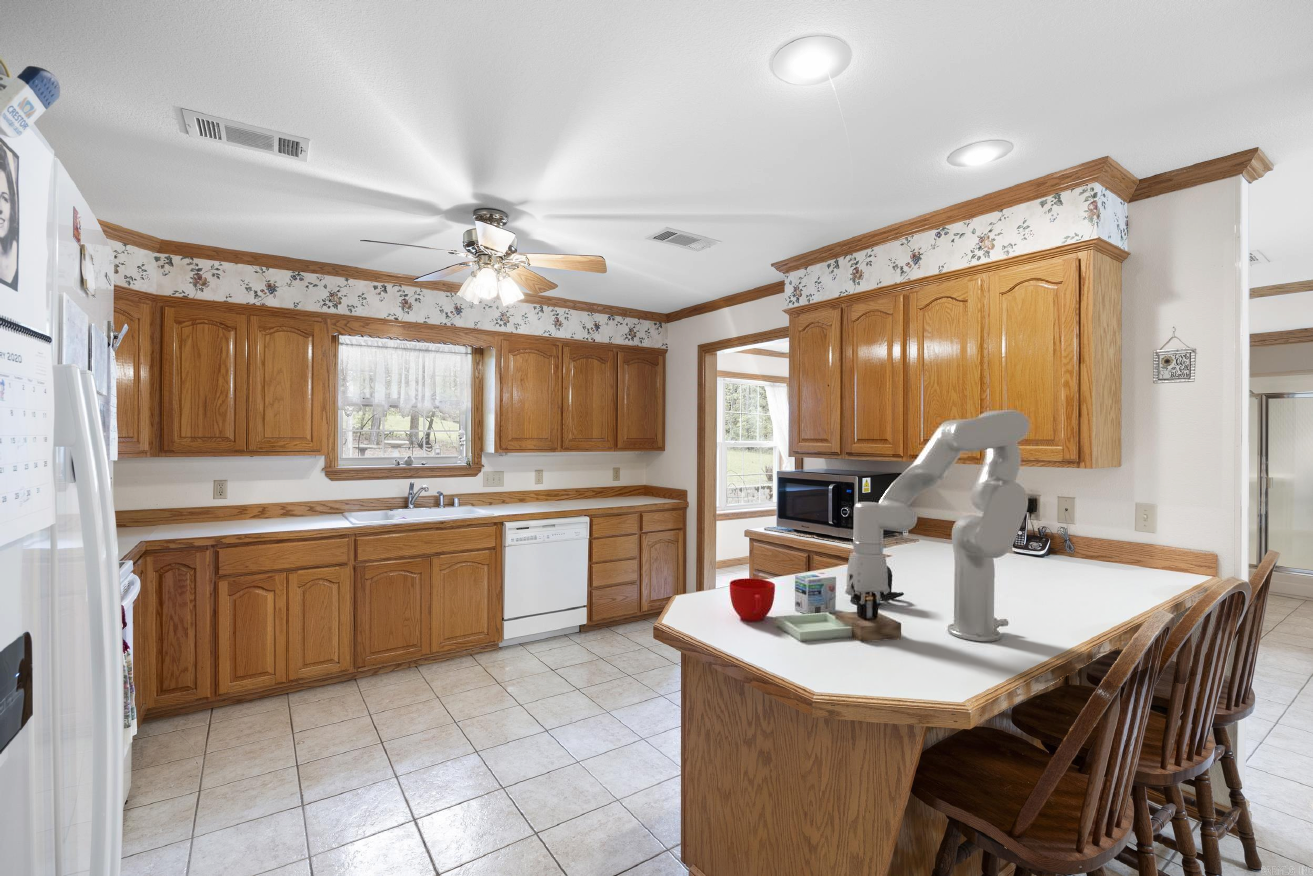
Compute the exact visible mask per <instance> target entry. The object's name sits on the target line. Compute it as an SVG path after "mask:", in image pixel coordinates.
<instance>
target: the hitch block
mask: <svg viewBox="0 0 1313 876" xmlns="http://www.w3.org/2000/svg"><path fill="white" fill-rule="evenodd" d="M834 616H835V619H837V620H838V621H839V622H840V624H841V622H842V623H843V624H845V625H848V626H847V627H849V626H850V627H852V637H853V639H854V638H855V639H854V640H856V639H857V640H856V641H858V640H859V641H868V642H873V641H872V640H879V641H884V640H883V639H890V640H898V639H897V638H900V639H902V623H901V622H900V621H897V620H895V619H893V618H891V617H890V616H887V615H886V614H885V615H884V614H882V613H880V612H878V618H874V617H873V620H868V621H865V620H863V619H862V618H860V617H858V616H857V611H849V612H848V611H846V612H834ZM839 622H838V623H839ZM836 623H837V622H836ZM836 623H835V624H836ZM838 623H837V624H838ZM837 624H836V625H837ZM845 625H843V626H845ZM837 627H838V626H837ZM841 627H842V625H841ZM852 637H851V638H852ZM859 641H858V642H859Z"/></svg>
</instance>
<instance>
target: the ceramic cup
mask: <svg viewBox="0 0 1313 876" xmlns="http://www.w3.org/2000/svg"><path fill="white" fill-rule="evenodd" d="M775 591H776V585H775V583H774V582H773V581H770V580H767V579H760V578H751V577H750V578H745V577H744V578H737V579H733V580H731V581H729V597H730V600H731V601H730V602H731V605H732V607H733V610H734V612H735V613H736V614H737V615H738V617H739V618H740V619H741V620H743V621H745V620H746V621H745V622H761V621H763V620H764V619H765V618H766V616H768V615H769V613H770V612H771V609H772V607H773V605H774V602H775V601H774V600H775V593H776V592H775Z"/></svg>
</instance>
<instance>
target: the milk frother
mask: <svg viewBox="0 0 1313 876" xmlns="http://www.w3.org/2000/svg"><path fill="white" fill-rule="evenodd" d="M887 574H888V587H889V589H890V591H889V592H888V593H887V594H885V595H884V596H883V597H882V598H881V601H880V603H878V606H880V605H881V604H882V602H887V601H893V600H895V599H897V598H901V597H903V596H904V595H905V593H904V592H903V591H901V592H897V591H892V589H893V571H892V570H891V568H890V567H889V566H888V565H887ZM853 592H854V593H855V589H853ZM865 594H868V595H870V592H865ZM849 602H850V603H852V604H854V605H856V606H857V602H856V601H855V599H854V598H853V597H852V596H850V601H849Z"/></svg>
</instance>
